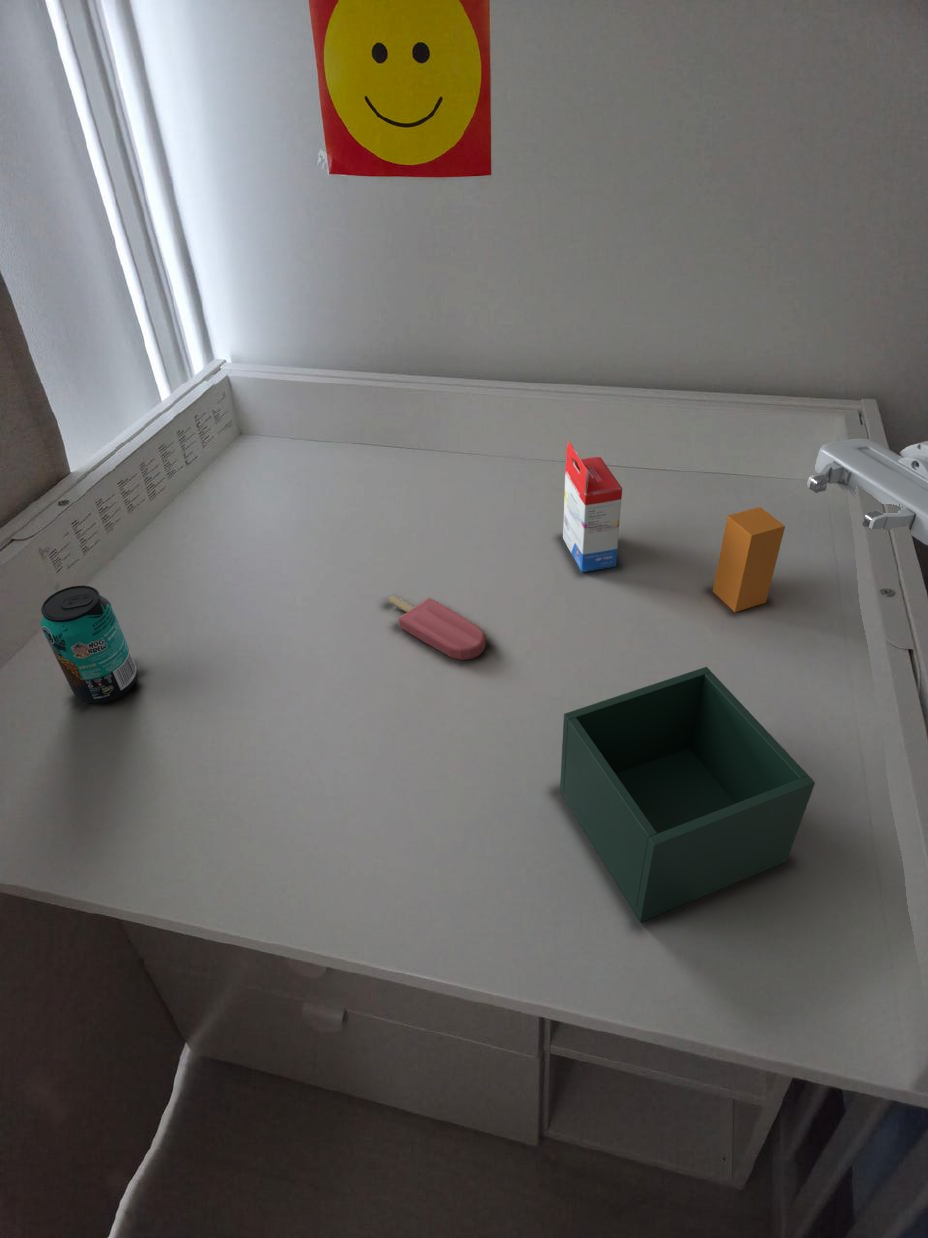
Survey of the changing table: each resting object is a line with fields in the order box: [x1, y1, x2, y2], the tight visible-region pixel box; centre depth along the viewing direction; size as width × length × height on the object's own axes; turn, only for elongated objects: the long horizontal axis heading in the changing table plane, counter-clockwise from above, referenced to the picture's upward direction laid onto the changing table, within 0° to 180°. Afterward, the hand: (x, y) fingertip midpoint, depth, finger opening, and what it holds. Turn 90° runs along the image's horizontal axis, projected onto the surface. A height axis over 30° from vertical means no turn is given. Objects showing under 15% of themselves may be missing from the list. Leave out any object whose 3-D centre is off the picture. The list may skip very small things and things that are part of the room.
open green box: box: [559, 666, 816, 923], centre depth 70 cm, size 15×15×11 cm
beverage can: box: [40, 585, 139, 704], centre depth 88 cm, size 7×7×12 cm
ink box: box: [562, 441, 623, 573], centre depth 103 cm, size 8×5×15 cm, turn 12°
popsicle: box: [388, 595, 486, 661], centre depth 96 cm, size 5×2×15 cm
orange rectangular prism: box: [712, 506, 786, 613], centre depth 95 cm, size 4×4×11 cm
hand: (838, 503), depth 95 cm, fingers open, 8 cm apart
